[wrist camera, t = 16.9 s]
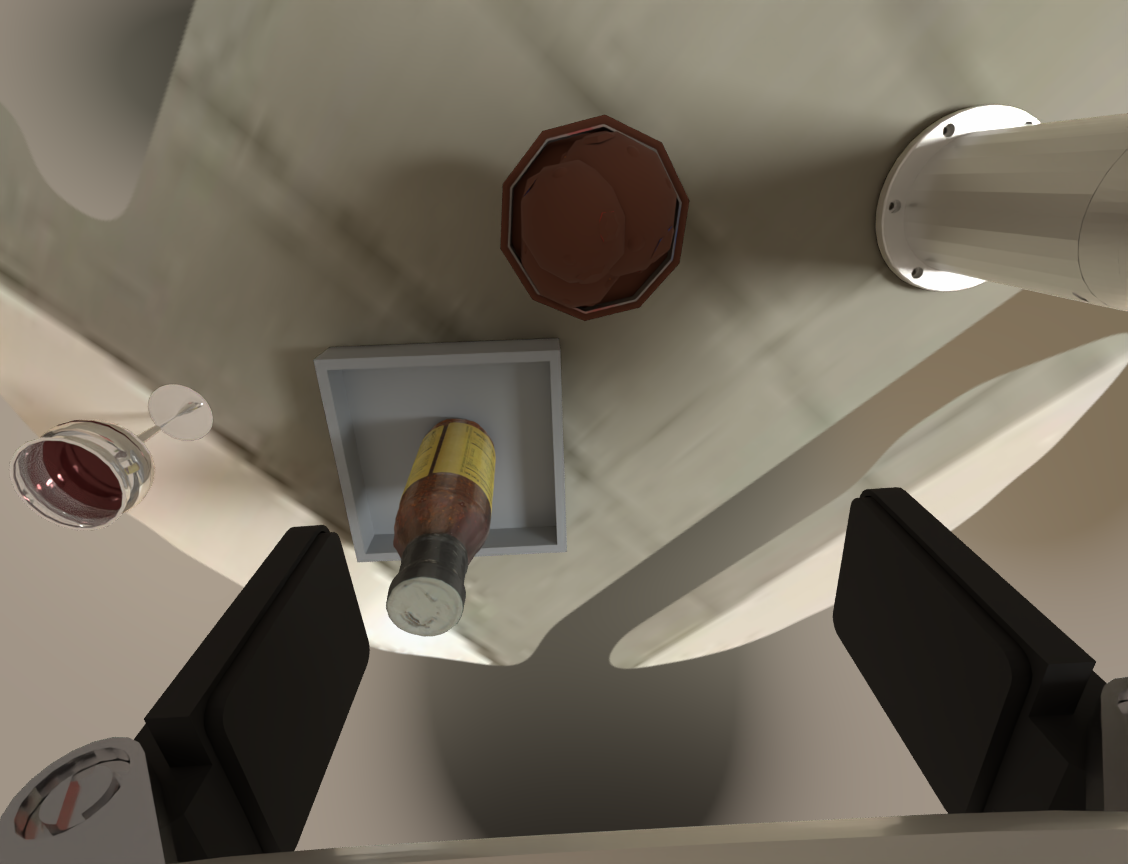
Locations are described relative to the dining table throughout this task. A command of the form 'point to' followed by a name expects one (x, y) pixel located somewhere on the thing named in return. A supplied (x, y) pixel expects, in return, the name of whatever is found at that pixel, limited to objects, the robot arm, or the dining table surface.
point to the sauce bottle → (441, 526)
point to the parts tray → (433, 394)
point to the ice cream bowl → (593, 218)
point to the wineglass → (101, 462)
